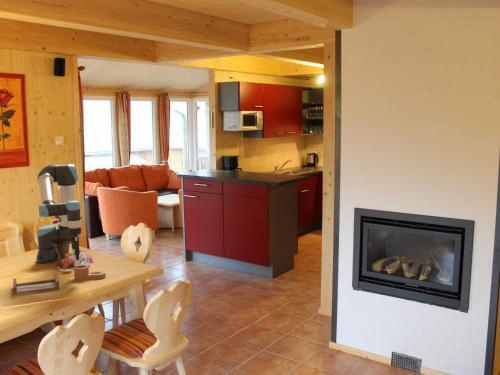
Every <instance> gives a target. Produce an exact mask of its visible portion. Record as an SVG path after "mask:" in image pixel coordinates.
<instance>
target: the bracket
mask: <svg viewBox="0 0 500 375" xmlns="http://www.w3.org/2000/svg"><path fill="white" fill-rule="evenodd" d="M73 277H74V280H77V281H83V280H85V281H86V280H101V279H104V278H106V277H107V276H106V271H104V270H90V268H89V266H88V265H77V266H75V267H74V271H73Z"/></svg>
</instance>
